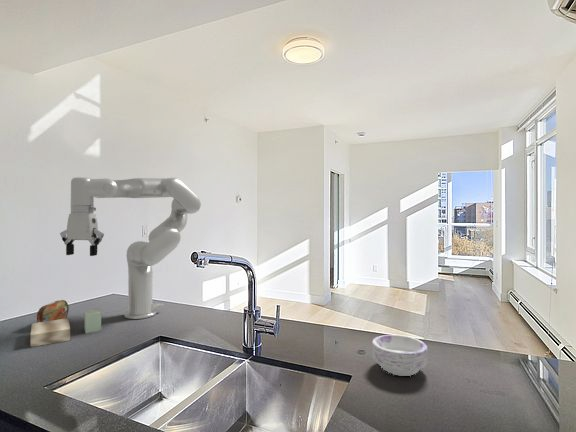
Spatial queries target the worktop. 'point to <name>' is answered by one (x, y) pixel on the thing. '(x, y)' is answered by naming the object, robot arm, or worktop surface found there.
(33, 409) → the worktop surface
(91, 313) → the block
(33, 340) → the riser block
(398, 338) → the white round bowl
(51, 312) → the tin
